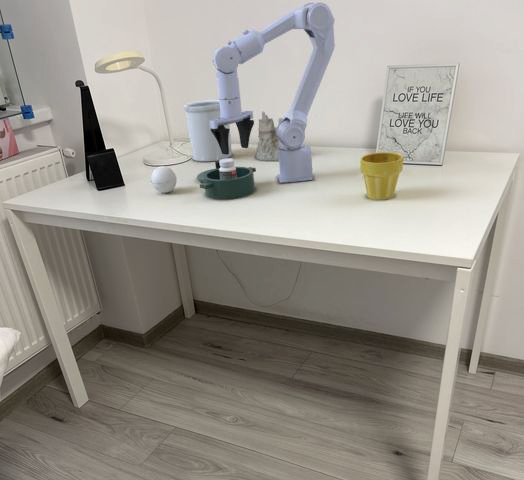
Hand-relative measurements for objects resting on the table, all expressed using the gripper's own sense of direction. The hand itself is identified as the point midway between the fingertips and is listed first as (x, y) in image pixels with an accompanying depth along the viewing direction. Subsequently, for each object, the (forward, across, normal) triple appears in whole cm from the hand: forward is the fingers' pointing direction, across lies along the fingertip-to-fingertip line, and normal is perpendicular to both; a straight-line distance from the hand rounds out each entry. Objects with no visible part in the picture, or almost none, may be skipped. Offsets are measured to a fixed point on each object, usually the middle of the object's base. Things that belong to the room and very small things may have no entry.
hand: (235, 150), depth 151 cm
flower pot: (+10, -12, +40) cm, 43 cm away
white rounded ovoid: (+10, +16, -15) cm, 24 cm away
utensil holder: (+10, -20, -34) cm, 41 cm away
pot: (+10, +5, +2) cm, 11 cm away
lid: (+9, -4, -12) cm, 15 cm away
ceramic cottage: (+10, -33, -14) cm, 37 cm away
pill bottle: (+10, +5, +2) cm, 11 cm away
